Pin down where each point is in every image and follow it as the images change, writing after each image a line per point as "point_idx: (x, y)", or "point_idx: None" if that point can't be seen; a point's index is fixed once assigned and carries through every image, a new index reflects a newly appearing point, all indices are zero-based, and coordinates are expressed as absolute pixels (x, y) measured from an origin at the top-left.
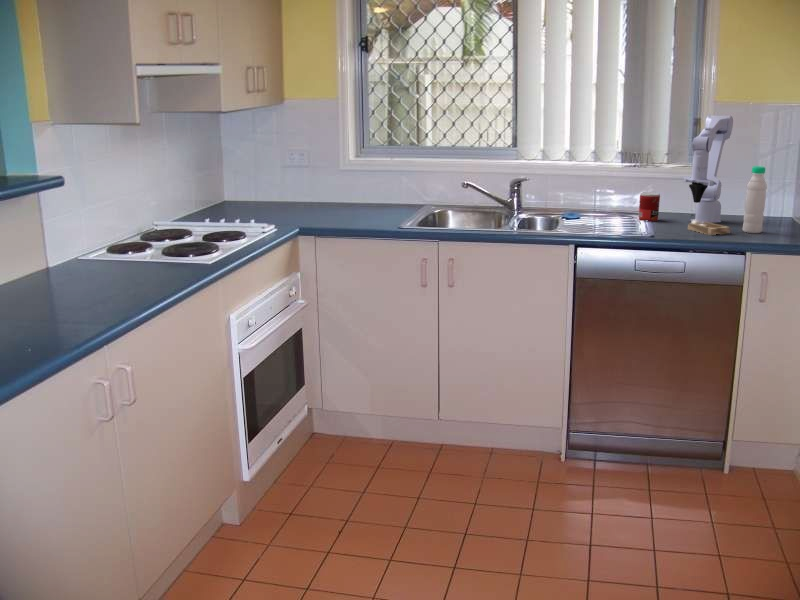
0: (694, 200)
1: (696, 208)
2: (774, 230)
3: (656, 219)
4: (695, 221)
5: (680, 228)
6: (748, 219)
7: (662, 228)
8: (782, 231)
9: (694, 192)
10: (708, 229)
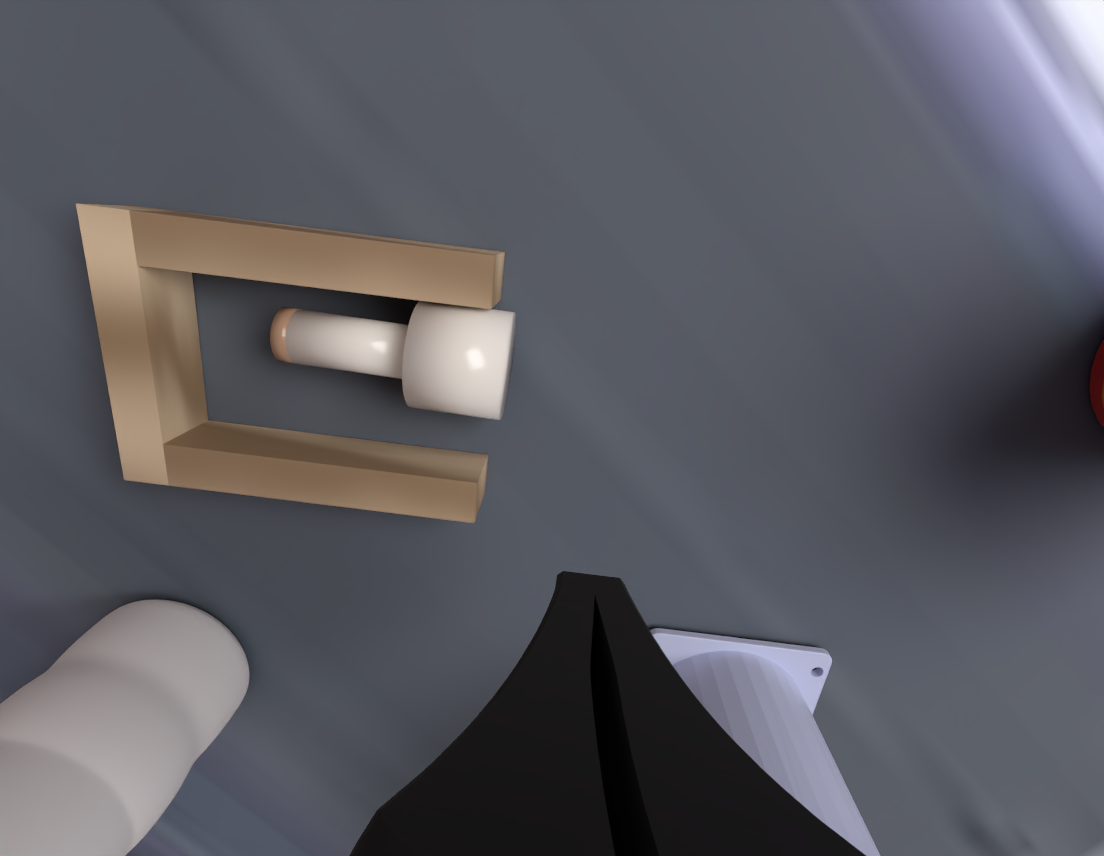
0: (596, 588)
1: (824, 769)
2: (192, 809)
3: (1100, 382)
4: (447, 340)
5: (613, 255)
6: (42, 684)
7: (739, 40)
8: None
9: (616, 718)
10: (133, 210)
